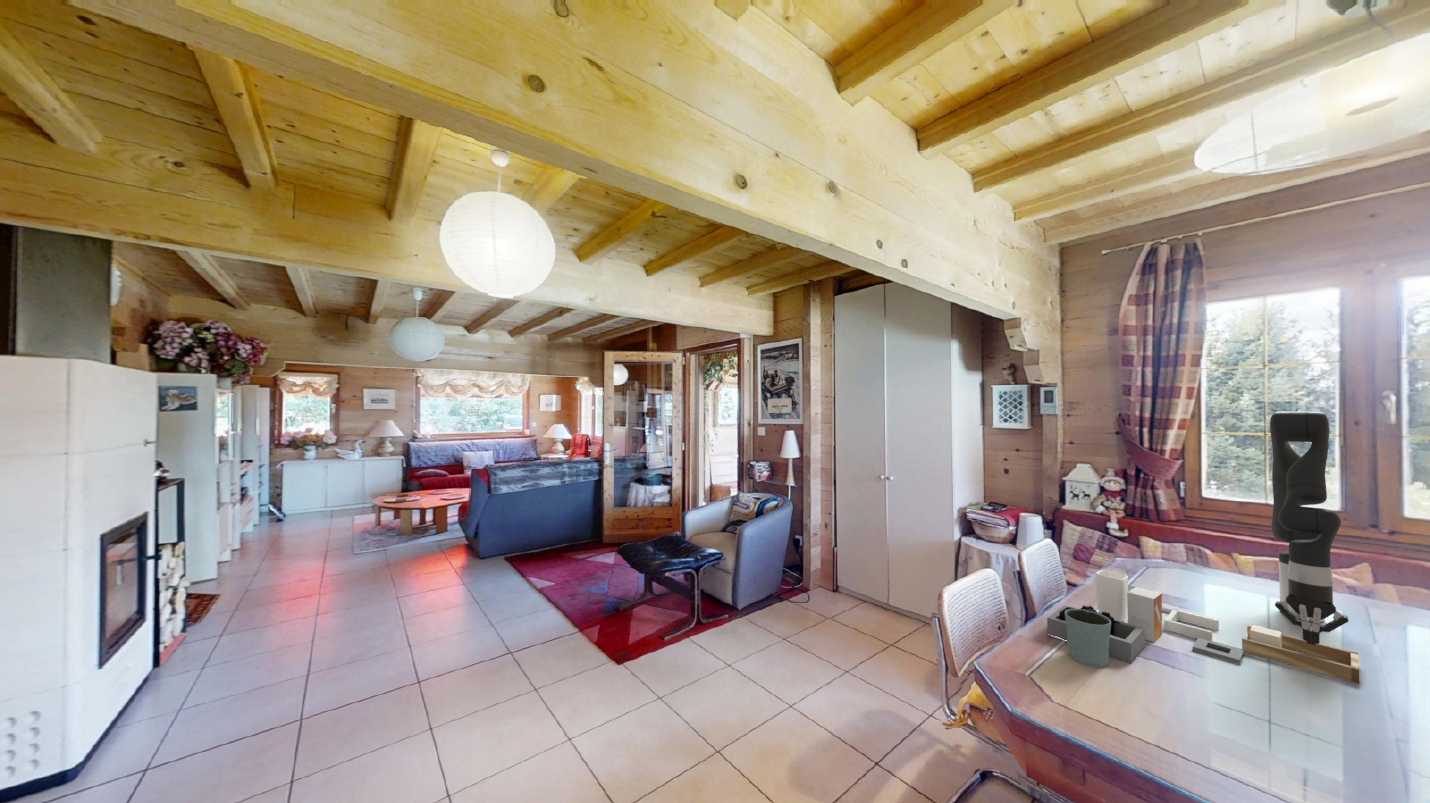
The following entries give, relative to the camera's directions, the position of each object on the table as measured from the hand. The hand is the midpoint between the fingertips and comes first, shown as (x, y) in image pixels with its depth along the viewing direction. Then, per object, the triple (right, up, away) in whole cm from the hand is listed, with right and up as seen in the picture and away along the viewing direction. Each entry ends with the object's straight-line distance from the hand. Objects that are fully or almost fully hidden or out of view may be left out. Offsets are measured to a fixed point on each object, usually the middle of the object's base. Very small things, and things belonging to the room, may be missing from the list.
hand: (1311, 643), depth 127 cm
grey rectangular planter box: (-49, -6, +12) cm, 51 cm away
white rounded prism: (-32, -6, +26) cm, 42 cm away
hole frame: (-20, -5, +5) cm, 21 cm away
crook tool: (-7, -5, +27) cm, 28 cm away
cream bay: (-13, -5, +19) cm, 24 cm away
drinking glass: (-59, -6, +2) cm, 60 cm away
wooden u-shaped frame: (-1, -5, +3) cm, 6 cm away
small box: (-31, -6, +16) cm, 35 cm away
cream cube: (-4, -5, +7) cm, 10 cm away
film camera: (-51, -6, +12) cm, 52 cm away
